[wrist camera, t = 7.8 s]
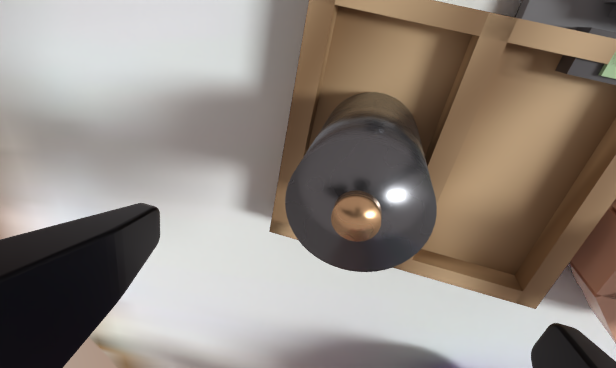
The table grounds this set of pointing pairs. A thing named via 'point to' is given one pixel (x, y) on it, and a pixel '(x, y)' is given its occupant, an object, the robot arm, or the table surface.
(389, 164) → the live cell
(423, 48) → the trough board
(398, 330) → the table surface
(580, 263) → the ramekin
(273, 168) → the table surface
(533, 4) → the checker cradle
